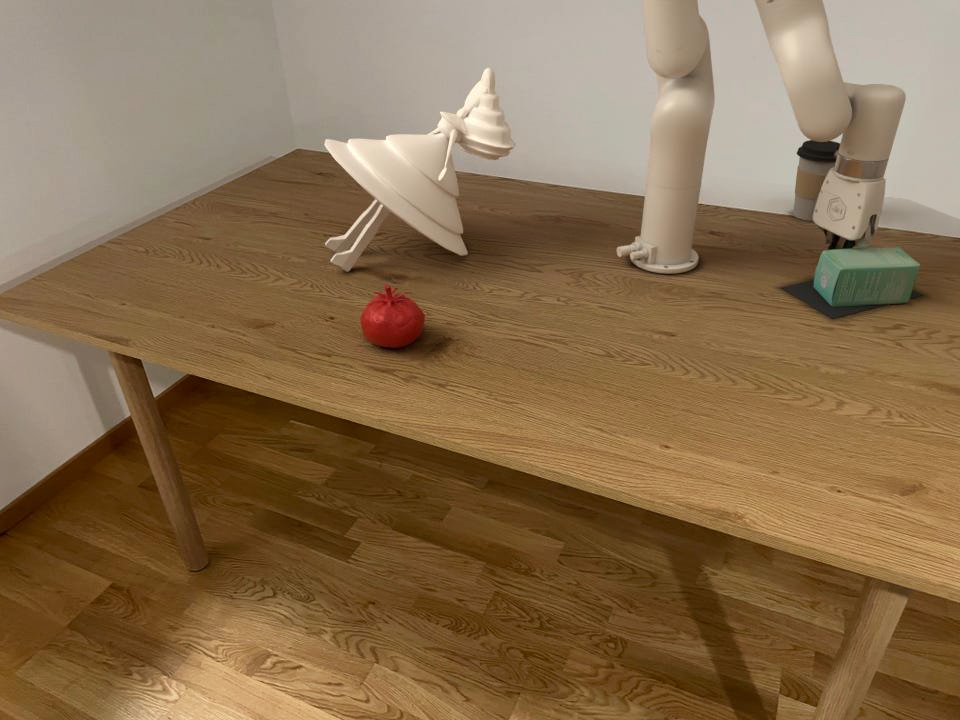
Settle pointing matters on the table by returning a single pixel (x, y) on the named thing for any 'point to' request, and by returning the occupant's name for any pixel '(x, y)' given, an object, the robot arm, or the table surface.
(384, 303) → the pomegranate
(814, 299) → the mat
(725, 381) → the table surface
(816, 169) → the coffee cup
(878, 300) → the box
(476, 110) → the figurine
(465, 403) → the table surface
